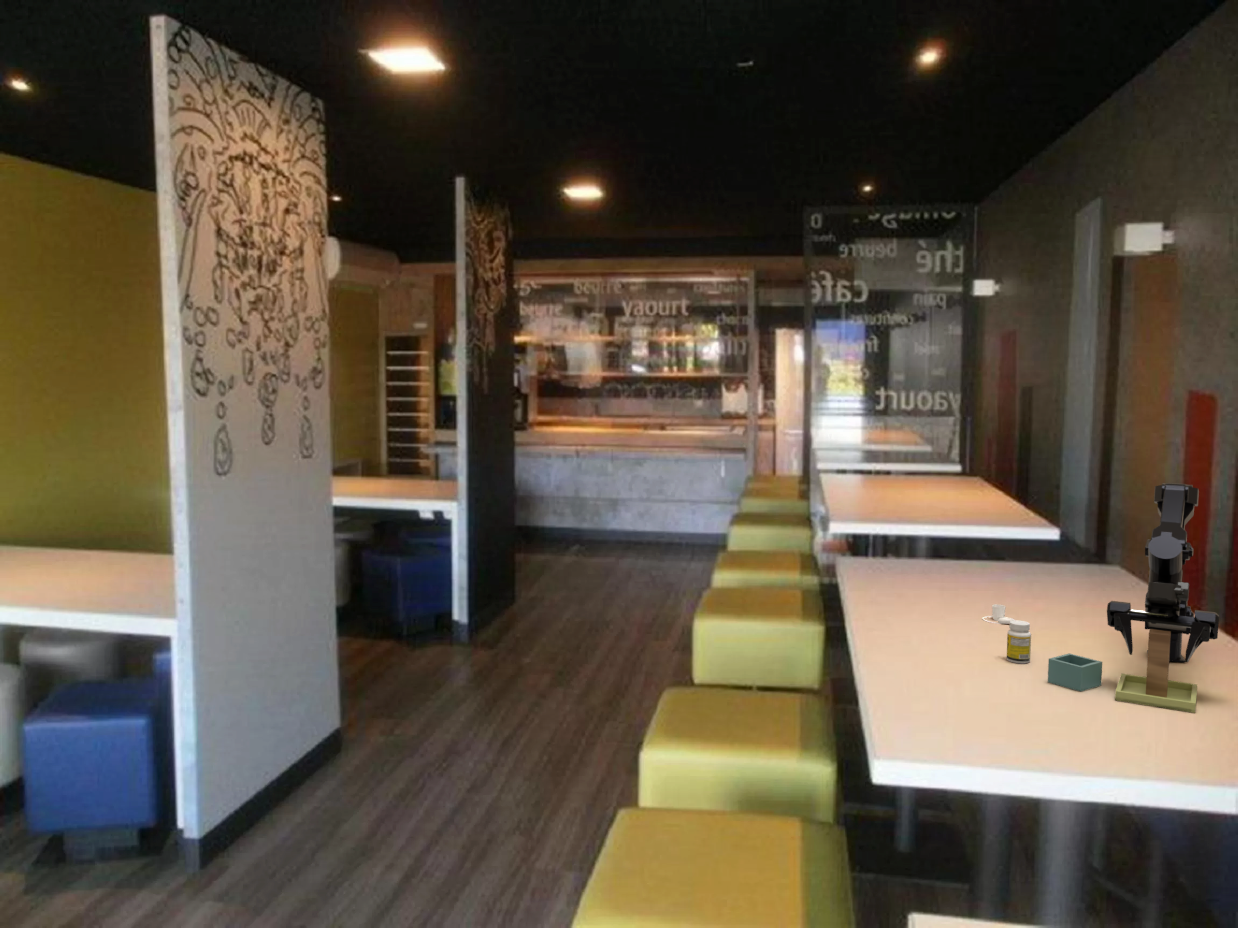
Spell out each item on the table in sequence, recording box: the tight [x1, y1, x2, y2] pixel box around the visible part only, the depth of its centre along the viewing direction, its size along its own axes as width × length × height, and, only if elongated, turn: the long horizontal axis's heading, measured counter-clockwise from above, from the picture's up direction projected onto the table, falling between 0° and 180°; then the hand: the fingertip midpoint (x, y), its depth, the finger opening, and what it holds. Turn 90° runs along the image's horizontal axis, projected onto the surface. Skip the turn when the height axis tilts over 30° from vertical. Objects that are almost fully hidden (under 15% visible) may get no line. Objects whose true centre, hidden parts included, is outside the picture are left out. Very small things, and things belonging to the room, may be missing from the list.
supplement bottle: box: [1006, 619, 1032, 665], centre depth 208 cm, size 5×5×8 cm
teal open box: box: [1047, 653, 1103, 692], centre depth 192 cm, size 7×7×5 cm
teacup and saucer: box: [981, 603, 1015, 625], centre depth 243 cm, size 9×8×4 cm
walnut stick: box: [1146, 629, 1171, 698], centre depth 184 cm, size 4×4×12 cm
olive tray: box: [1114, 673, 1198, 714], centre depth 185 cm, size 13×13×2 cm
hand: (1158, 657), depth 183 cm, fingers open, 9 cm apart
